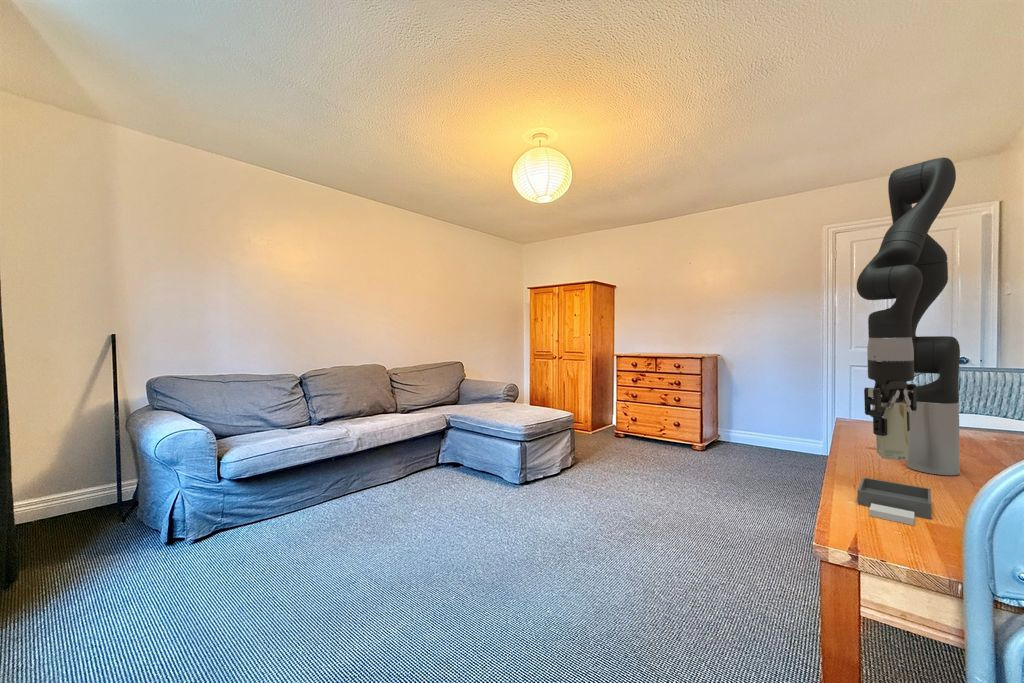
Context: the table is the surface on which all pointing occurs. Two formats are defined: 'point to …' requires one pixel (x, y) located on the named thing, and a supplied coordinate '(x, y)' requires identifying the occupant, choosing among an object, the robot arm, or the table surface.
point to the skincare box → (894, 434)
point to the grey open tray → (894, 500)
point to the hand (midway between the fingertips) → (891, 432)
